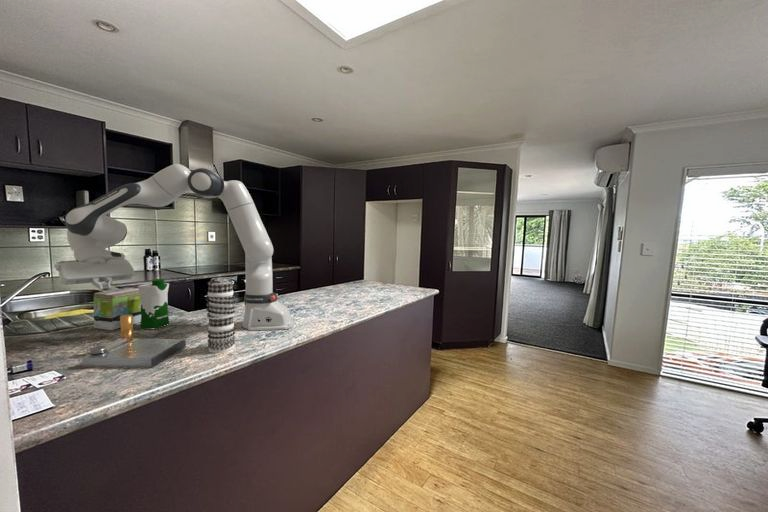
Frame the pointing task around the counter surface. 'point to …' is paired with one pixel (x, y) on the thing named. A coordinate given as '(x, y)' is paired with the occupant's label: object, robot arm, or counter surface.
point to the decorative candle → (220, 315)
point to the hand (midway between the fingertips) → (105, 289)
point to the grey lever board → (136, 353)
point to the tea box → (116, 307)
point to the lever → (126, 335)
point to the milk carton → (154, 304)
